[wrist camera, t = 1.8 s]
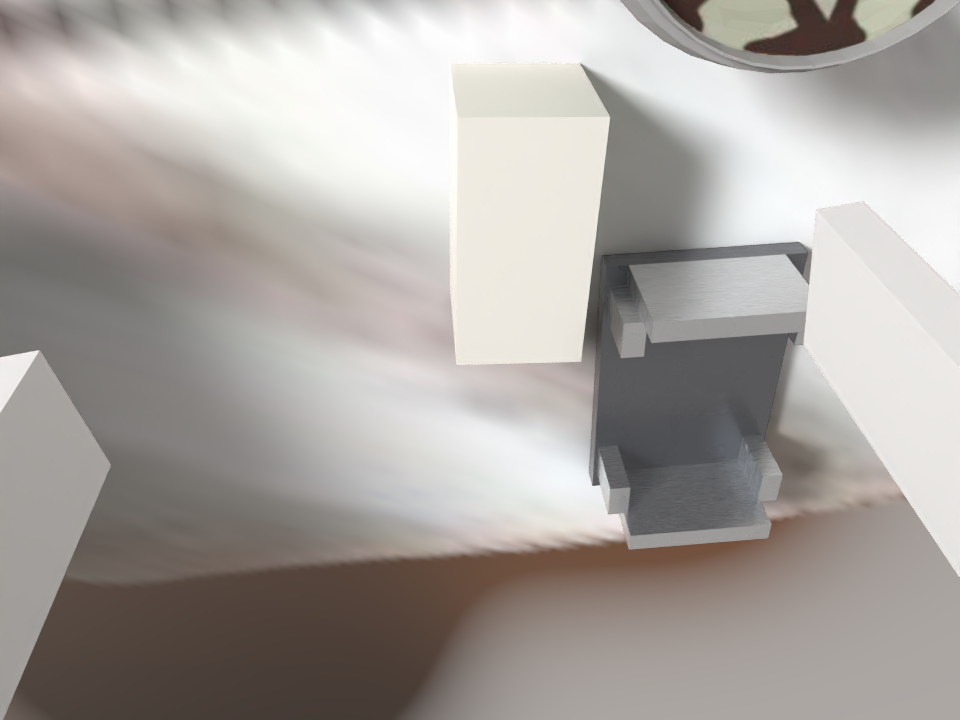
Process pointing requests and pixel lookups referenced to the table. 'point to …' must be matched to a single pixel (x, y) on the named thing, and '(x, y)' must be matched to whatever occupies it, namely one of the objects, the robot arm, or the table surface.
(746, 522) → the mount
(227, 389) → the table surface
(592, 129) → the cream rectangular block
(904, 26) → the food container
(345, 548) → the table surface
